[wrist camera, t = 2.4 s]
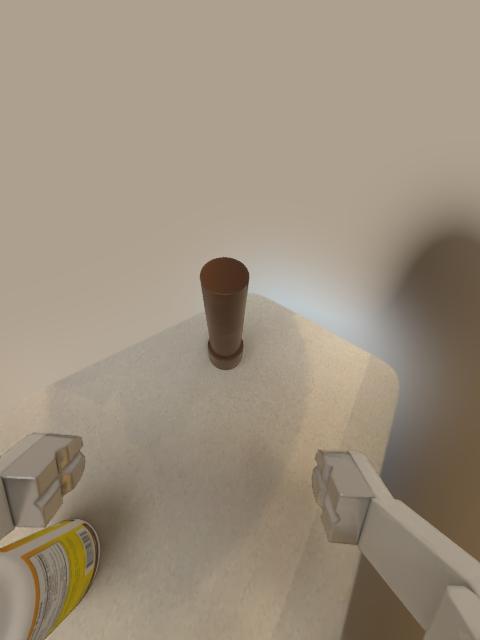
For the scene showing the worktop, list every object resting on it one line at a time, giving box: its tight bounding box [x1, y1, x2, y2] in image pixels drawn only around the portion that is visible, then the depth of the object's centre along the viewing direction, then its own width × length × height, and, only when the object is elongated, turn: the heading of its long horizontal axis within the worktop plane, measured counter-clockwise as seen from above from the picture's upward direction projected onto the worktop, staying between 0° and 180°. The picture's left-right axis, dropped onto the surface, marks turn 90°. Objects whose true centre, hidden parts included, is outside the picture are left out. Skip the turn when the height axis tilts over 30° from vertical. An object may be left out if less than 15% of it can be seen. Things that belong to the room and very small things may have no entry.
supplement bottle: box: [0, 519, 100, 640], centre depth 13 cm, size 6×6×10 cm
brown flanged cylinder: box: [200, 257, 249, 370], centre depth 21 cm, size 4×4×14 cm
